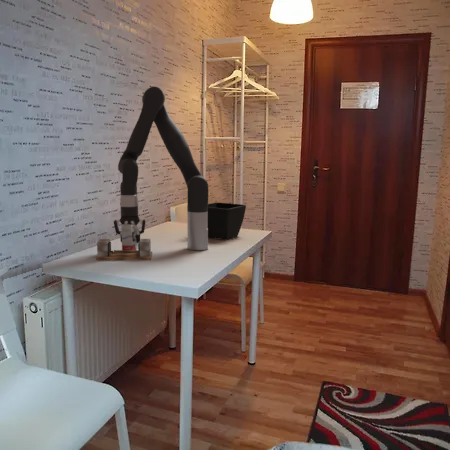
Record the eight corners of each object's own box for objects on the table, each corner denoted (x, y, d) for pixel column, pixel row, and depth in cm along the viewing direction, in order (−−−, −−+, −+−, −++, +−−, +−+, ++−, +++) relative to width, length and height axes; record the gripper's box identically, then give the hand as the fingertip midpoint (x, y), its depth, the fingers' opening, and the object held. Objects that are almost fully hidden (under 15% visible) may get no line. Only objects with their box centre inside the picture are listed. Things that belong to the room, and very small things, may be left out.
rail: (152, 254, 191) (151, 238, 190) (150, 259, 182) (150, 242, 180) (99, 255, 189) (99, 238, 188) (95, 260, 179) (95, 243, 178)
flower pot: (227, 241, 220) (228, 208, 218) (196, 237, 230) (196, 205, 227) (246, 236, 236) (247, 204, 234) (216, 232, 246) (216, 202, 243)
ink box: (132, 252, 191) (131, 225, 190) (121, 251, 192) (120, 224, 190) (139, 248, 200) (138, 222, 198) (129, 247, 201) (128, 221, 199)
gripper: (146, 203, 197) (147, 241, 200) (113, 204, 196) (115, 241, 198) (145, 205, 190) (146, 244, 193) (111, 206, 188) (112, 245, 191)
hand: (130, 242), depth 196 cm, fingers closed on ink box, 5 cm apart
